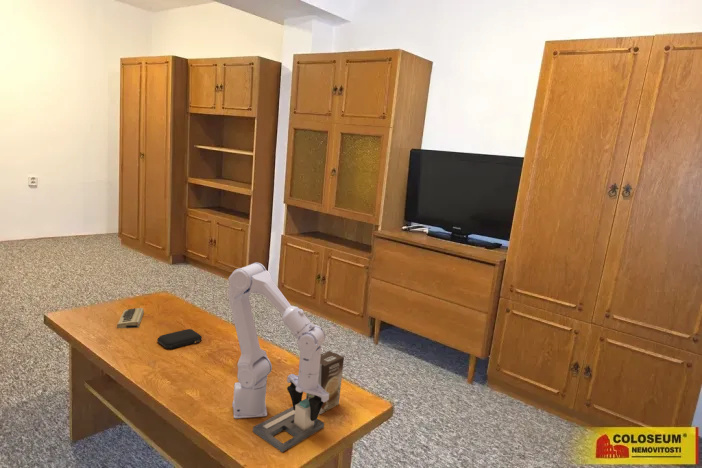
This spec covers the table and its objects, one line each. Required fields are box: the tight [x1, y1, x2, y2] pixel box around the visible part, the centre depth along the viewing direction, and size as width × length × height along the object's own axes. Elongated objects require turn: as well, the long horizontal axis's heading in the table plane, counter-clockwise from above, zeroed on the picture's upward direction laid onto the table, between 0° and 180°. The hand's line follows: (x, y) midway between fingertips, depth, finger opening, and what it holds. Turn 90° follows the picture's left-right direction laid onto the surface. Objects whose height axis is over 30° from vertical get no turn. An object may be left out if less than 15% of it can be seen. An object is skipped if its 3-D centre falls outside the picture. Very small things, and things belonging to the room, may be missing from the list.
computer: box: [116, 307, 145, 329], centre depth 192 cm, size 16×8×3 cm, turn 17°
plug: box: [294, 398, 314, 431], centre depth 132 cm, size 4×4×8 cm
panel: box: [252, 406, 325, 453], centre depth 130 cm, size 16×12×2 cm
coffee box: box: [305, 350, 345, 415], centre depth 143 cm, size 9×6×16 cm
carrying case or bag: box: [156, 328, 203, 350], centre depth 177 cm, size 11×3×15 cm
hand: (305, 414), depth 132 cm, fingers open, 6 cm apart
